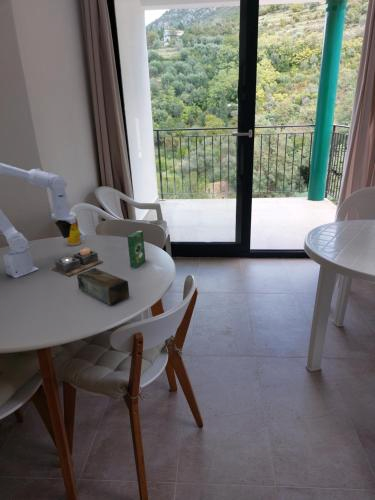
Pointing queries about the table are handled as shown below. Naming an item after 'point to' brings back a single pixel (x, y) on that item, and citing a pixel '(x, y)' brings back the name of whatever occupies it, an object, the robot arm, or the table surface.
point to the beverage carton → (103, 286)
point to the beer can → (74, 232)
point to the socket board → (77, 264)
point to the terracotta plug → (84, 251)
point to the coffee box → (136, 248)
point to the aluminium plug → (67, 260)
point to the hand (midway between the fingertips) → (66, 237)
